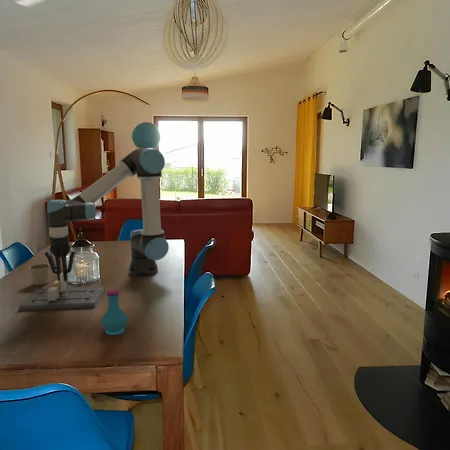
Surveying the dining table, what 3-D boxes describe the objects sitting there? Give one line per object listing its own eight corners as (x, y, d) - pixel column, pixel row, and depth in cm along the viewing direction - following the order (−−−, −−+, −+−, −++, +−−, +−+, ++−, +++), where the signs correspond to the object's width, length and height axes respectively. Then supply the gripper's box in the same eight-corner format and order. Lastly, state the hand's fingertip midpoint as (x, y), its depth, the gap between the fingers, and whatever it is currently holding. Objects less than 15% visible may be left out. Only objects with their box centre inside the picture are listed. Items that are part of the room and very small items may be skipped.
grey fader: (58, 297, 169) (57, 287, 168) (55, 300, 165) (54, 290, 164) (51, 297, 168) (50, 287, 168) (48, 300, 165) (47, 290, 164)
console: (104, 290, 183) (104, 285, 183) (95, 307, 163) (94, 301, 163) (37, 293, 180) (36, 287, 180) (19, 310, 160) (18, 304, 160)
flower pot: (43, 287, 188) (41, 269, 186) (26, 286, 190) (24, 268, 188) (55, 281, 197) (54, 264, 195) (38, 279, 199) (37, 263, 197)
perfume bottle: (104, 325, 146) (102, 286, 143) (130, 324, 147) (128, 286, 144) (99, 337, 137) (96, 295, 134) (126, 335, 138) (123, 295, 135)
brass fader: (63, 289, 177) (62, 280, 177) (60, 293, 174) (59, 283, 173) (56, 290, 177) (55, 280, 176) (53, 293, 173) (52, 283, 172)
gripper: (77, 233, 175) (80, 284, 180) (46, 234, 174) (51, 285, 178) (72, 237, 168) (76, 290, 172) (40, 238, 167) (45, 291, 171)
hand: (63, 287), depth 175 cm, fingers closed
